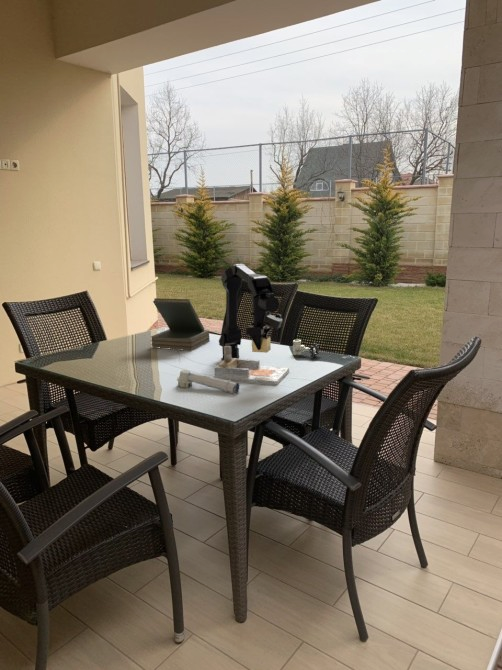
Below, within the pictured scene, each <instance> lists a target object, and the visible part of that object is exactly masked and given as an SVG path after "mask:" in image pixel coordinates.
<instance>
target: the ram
mask: <svg viewBox="0 0 502 670" xmlns="http://www.w3.org/2000/svg"><path fill="white" fill-rule="evenodd" d="M237 359H238V358H232V355H231V346H224V360H222V361H221V362H220V363H218V367H232V368H236V367H237Z"/></svg>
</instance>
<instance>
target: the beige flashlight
mask: <svg viewBox="0 0 502 670" xmlns="http://www.w3.org/2000/svg"><path fill="white" fill-rule="evenodd" d="M176 379H177V380H176V381H177V386H179V387H180V388H182V387H184V388H187V387H188V388H191V387H193V383H196V384H200V385H202V386H206V387H209V388H214V389H216V390H220V391H223V392H225V393H231V394H234V393H235V394H238V393H239V390H240V383H239V382H233V381H231V380H229V381H228V380H223V379H218V378H213V376H207V375H202V374H199V373H193V372H191V371H190V370H188V369H181V370H180V373H179V376H177V378H176ZM190 386H191V387H190Z"/></svg>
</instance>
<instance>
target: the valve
mask: <svg viewBox="0 0 502 670" xmlns="http://www.w3.org/2000/svg"><path fill="white" fill-rule="evenodd" d="M292 343H293V345H292V351H293V355H294V356H300V355H301V354H302V353H304V352H305V351H306V352H309V353H310V357H313V358H316V357H317V356H319V351H320V348H319V343H316V342H313V343H312V345H311V346H310V347H308V346H306V345H304V344H302V340H301V339H294V340H293V341H292Z"/></svg>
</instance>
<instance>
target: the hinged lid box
mask: <svg viewBox="0 0 502 670" xmlns="http://www.w3.org/2000/svg"><path fill="white" fill-rule="evenodd" d="M152 302H153V304H154V306H155V308H156V309H157V311H158V312H159V314H160V316H161V317H162V320H163V321H164V322H165V324H166V325H167V327H168V329H166V330H163V331H161V332H158V333H155V334H154V335H151V336H150V338H151V340H150V341H151V344H150V345H151V348H152V347H160V348H159V349H162V348H170V349H169V350H177V349H183V350H182V351H194V350H195V349H198V348H199V347H201V346H204V345H205V344H207V343H209V342H210V340H211V339H210V330H205V327H204V326H203V323H202V321H201V319H200V318H199V316H198V313H197V312H196V310H195V308H194V306H193V304H192V303H191V300H190V299H188V298H156V297H155V298H154V300H152Z"/></svg>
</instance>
